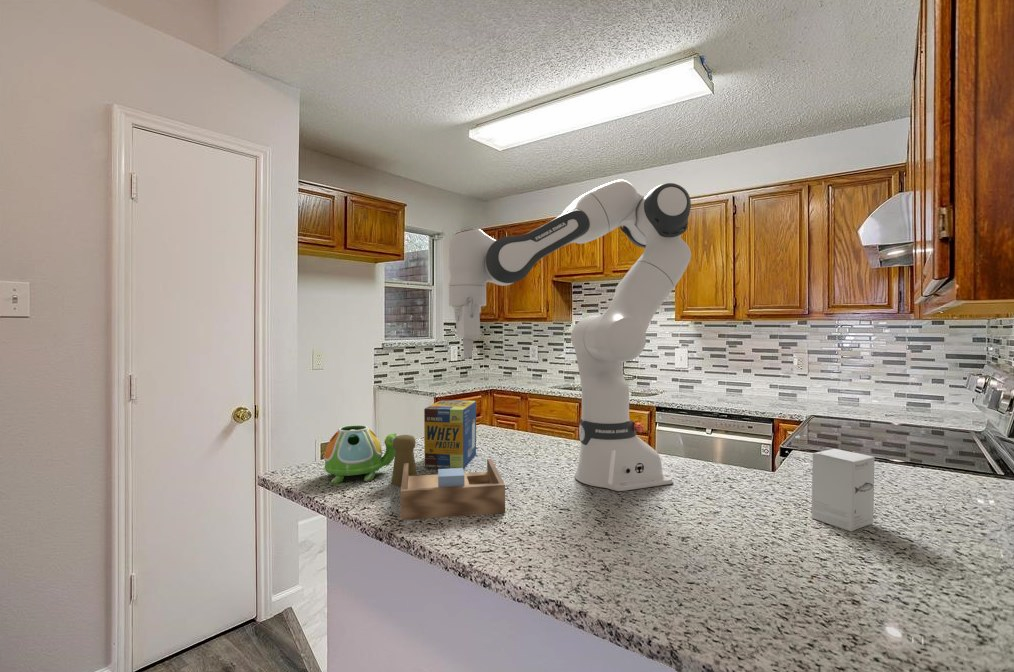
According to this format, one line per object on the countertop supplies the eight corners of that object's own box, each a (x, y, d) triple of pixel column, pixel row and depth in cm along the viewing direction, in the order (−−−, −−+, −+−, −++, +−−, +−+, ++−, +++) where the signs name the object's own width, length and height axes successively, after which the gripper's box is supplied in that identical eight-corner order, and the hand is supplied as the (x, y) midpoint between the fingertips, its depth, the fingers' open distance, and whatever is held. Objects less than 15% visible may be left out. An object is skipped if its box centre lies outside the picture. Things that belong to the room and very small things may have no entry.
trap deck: (491, 482, 115) (491, 458, 115) (505, 512, 96) (505, 484, 96) (404, 487, 111) (403, 463, 111) (400, 520, 93) (400, 491, 93)
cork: (420, 478, 118) (420, 433, 117) (413, 487, 112) (413, 438, 111) (396, 478, 118) (395, 432, 118) (387, 486, 112) (387, 438, 112)
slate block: (462, 492, 101) (462, 467, 101) (464, 500, 96) (464, 475, 96) (438, 493, 100) (438, 469, 100) (438, 502, 95) (438, 476, 95)
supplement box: (852, 532, 86) (853, 461, 86) (810, 518, 93) (810, 451, 93) (875, 524, 90) (876, 456, 90) (832, 511, 96) (833, 447, 96)
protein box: (423, 468, 126) (423, 408, 126) (441, 453, 141) (441, 399, 141) (463, 470, 124) (463, 409, 124) (477, 454, 139) (476, 400, 139)
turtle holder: (405, 477, 119) (404, 428, 118) (325, 487, 112) (325, 435, 112) (396, 464, 130) (395, 419, 130) (323, 472, 123) (322, 424, 123)
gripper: (486, 296, 107) (486, 360, 107) (476, 300, 127) (476, 354, 127) (457, 296, 106) (457, 360, 106) (451, 300, 126) (451, 354, 126)
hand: (467, 357), depth 117 cm, fingers closed
